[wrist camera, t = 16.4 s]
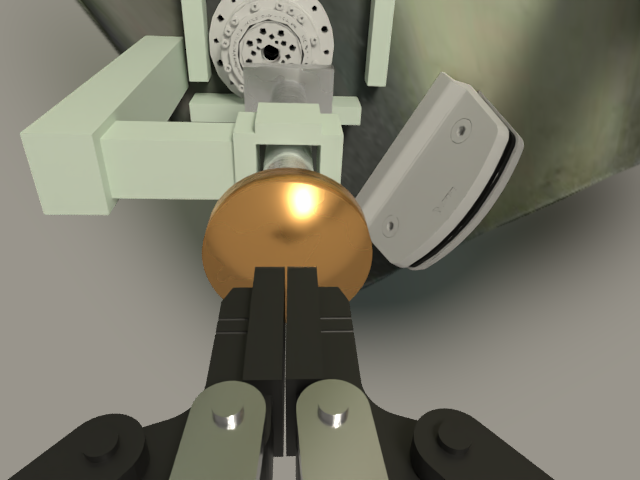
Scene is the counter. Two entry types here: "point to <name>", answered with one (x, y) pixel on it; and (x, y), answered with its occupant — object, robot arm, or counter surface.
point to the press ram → (287, 201)
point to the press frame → (177, 125)
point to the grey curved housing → (439, 175)
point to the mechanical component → (267, 36)
